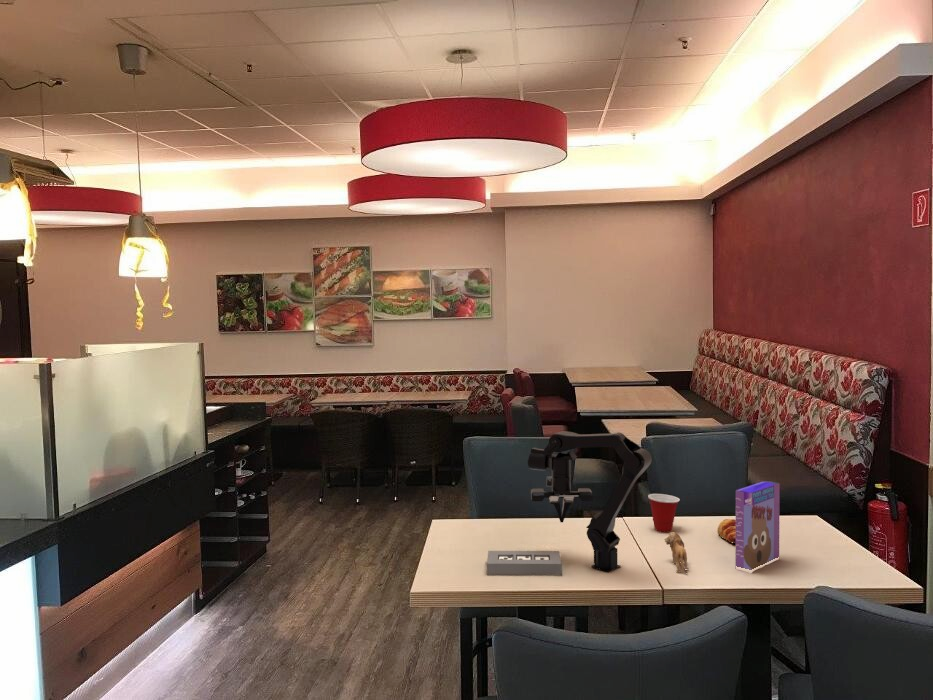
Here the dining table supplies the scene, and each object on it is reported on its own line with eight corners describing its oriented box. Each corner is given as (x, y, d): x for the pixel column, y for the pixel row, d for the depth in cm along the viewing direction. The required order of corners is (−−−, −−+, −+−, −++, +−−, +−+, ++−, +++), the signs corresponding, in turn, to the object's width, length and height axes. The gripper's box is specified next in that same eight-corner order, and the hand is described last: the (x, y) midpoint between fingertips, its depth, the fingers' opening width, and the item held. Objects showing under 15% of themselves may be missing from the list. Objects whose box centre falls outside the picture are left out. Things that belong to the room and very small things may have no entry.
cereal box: (750, 573, 224) (750, 492, 223) (735, 569, 228) (735, 489, 226) (779, 559, 236) (779, 482, 234) (764, 556, 239) (764, 480, 238)
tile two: (530, 562, 234) (530, 555, 233) (530, 566, 230) (530, 560, 230) (517, 562, 234) (517, 555, 234) (517, 566, 230) (517, 560, 230)
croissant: (721, 537, 270) (710, 517, 270) (748, 525, 268) (736, 505, 268) (727, 555, 249) (715, 533, 250) (756, 543, 247) (744, 520, 248)
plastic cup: (683, 534, 263) (683, 500, 262) (651, 535, 263) (651, 500, 262) (675, 525, 273) (675, 492, 273) (645, 526, 274) (645, 492, 273)
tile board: (559, 561, 237) (559, 550, 237) (561, 575, 225) (561, 563, 225) (488, 561, 238) (488, 550, 238) (487, 574, 227) (486, 563, 226)
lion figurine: (663, 559, 238) (663, 530, 237) (679, 558, 238) (679, 530, 238) (678, 575, 223) (678, 545, 223) (696, 575, 223) (696, 544, 223)
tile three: (512, 562, 234) (512, 556, 234) (512, 566, 230) (512, 560, 230) (499, 562, 234) (499, 555, 234) (499, 566, 230) (499, 560, 230)
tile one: (548, 562, 233) (548, 556, 233) (549, 567, 229) (549, 560, 229) (535, 562, 234) (535, 556, 233) (535, 567, 230) (535, 560, 229)
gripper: (588, 466, 245) (589, 514, 246) (530, 467, 246) (530, 515, 247) (592, 474, 234) (592, 524, 234) (531, 474, 235) (531, 524, 236)
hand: (561, 522), depth 238 cm, fingers closed
